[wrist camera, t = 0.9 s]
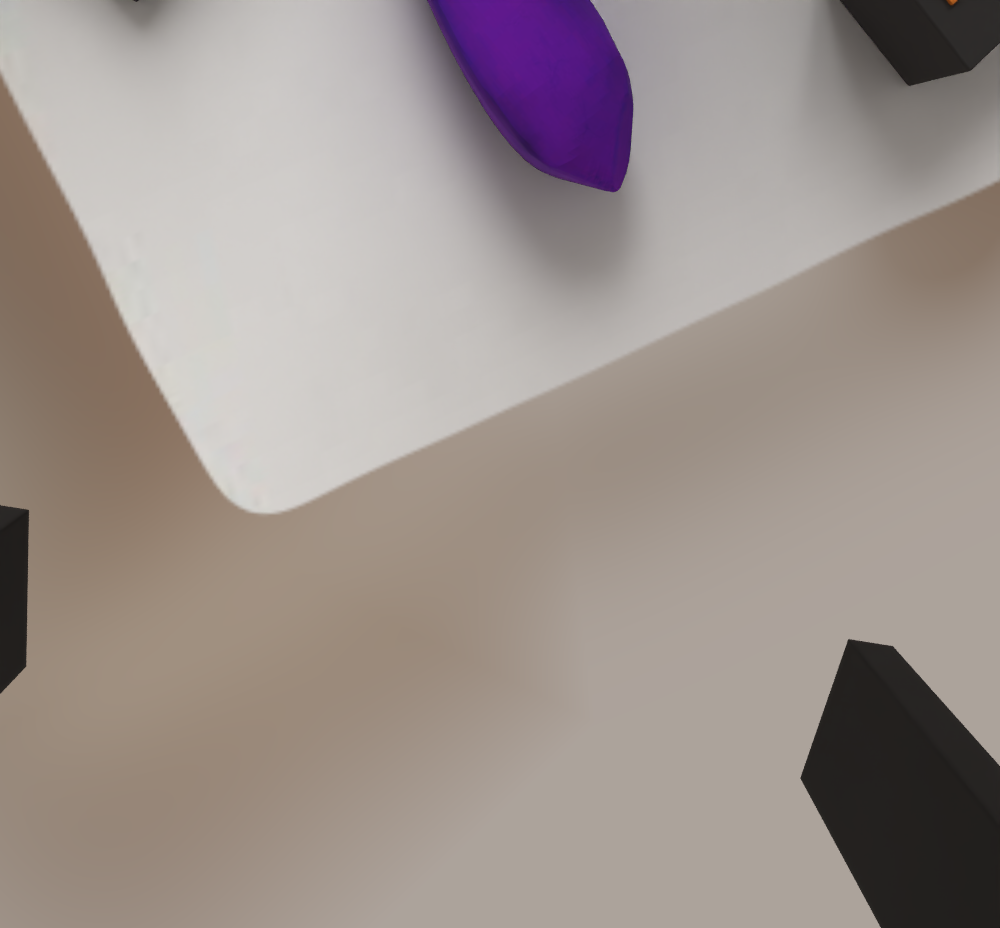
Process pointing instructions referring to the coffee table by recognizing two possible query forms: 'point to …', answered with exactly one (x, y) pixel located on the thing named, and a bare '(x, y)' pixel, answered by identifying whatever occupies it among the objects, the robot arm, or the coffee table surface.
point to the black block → (930, 34)
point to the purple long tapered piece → (547, 82)
